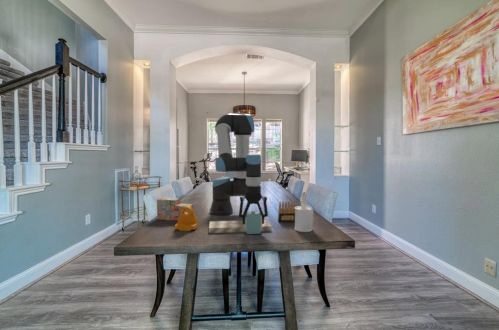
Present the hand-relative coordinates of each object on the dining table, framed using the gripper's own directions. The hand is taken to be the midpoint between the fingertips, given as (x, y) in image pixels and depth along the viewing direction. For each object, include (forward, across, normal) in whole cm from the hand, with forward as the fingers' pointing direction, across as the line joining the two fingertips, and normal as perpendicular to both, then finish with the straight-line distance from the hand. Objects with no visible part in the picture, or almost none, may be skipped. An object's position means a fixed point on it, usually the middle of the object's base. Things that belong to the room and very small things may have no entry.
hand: (253, 230), depth 130 cm
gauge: (+1, 0, +5) cm, 5 cm away
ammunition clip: (+2, +22, +18) cm, 29 cm away
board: (+1, -6, +8) cm, 11 cm away
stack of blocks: (+2, -44, +30) cm, 53 cm away
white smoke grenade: (+2, +27, +3) cm, 28 cm away
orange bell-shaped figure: (+2, -34, +10) cm, 36 cm away
